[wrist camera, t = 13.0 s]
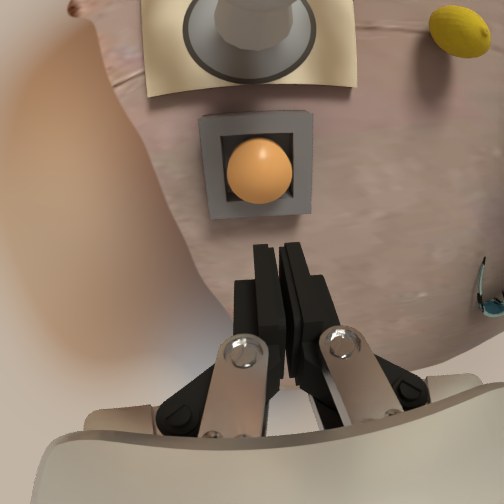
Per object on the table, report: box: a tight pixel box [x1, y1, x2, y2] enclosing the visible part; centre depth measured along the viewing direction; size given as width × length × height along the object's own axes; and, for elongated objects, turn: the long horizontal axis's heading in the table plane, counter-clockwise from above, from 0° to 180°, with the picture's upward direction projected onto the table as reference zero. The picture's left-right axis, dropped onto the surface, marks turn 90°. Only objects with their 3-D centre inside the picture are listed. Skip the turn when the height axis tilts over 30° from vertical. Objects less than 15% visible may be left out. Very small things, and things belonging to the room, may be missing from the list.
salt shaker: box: [214, 0, 297, 51], centre depth 12 cm, size 6×6×13 cm
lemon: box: [429, 5, 491, 58], centre depth 13 cm, size 6×6×8 cm
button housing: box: [198, 110, 313, 220], centre depth 24 cm, size 9×9×3 cm
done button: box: [227, 137, 292, 204], centre depth 22 cm, size 5×5×2 cm
